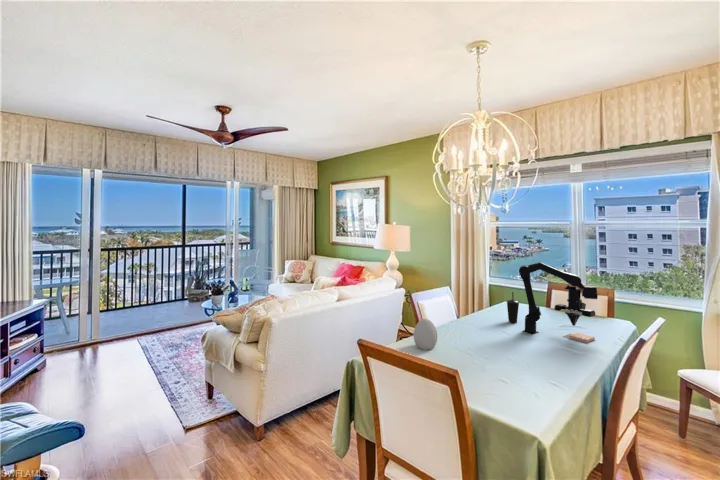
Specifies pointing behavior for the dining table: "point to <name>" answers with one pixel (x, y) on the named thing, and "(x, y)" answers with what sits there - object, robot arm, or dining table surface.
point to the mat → (576, 340)
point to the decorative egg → (425, 335)
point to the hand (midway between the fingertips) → (573, 325)
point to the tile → (581, 337)
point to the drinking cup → (512, 310)
